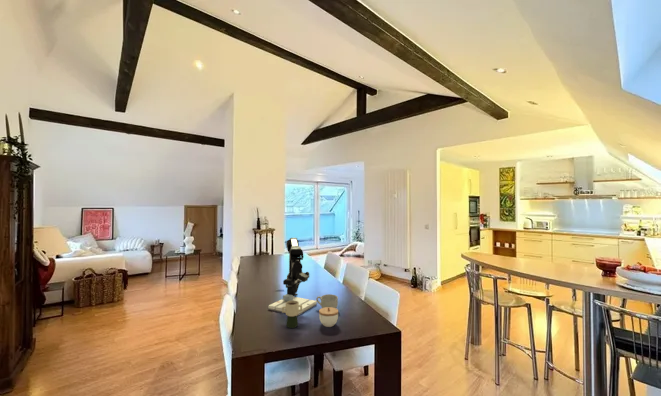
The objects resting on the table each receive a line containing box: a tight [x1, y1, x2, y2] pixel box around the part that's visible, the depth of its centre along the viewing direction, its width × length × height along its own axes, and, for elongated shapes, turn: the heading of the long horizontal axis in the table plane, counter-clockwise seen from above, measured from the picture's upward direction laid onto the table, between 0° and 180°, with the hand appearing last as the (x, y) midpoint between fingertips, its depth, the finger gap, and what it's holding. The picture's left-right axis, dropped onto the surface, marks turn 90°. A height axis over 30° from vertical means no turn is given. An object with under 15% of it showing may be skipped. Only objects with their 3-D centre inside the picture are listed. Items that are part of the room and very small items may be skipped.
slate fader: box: [282, 293, 293, 301], centre depth 194 cm, size 4×5×5 cm
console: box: [268, 296, 318, 317], centre depth 189 cm, size 22×22×3 cm
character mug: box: [281, 301, 302, 329], centre depth 159 cm, size 11×7×13 cm, turn 106°
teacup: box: [315, 293, 339, 309], centre depth 186 cm, size 14×11×8 cm
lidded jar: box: [318, 307, 339, 328], centre depth 162 cm, size 11×11×9 cm
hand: (295, 292), depth 185 cm, fingers closed
